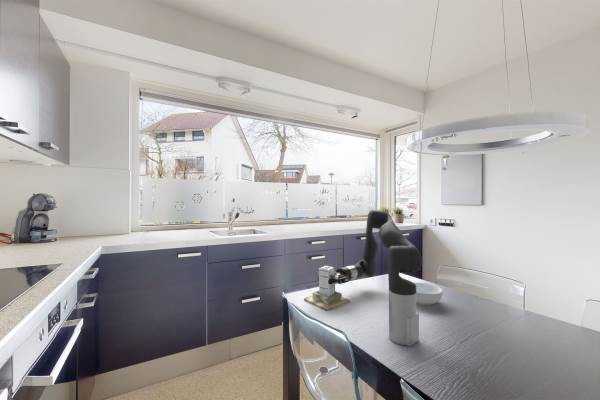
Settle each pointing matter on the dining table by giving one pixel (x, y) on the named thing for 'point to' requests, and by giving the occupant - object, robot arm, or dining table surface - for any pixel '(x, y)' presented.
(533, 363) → the dining table surface
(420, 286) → the cereal bowl
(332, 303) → the socket
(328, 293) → the syrup box
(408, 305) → the robot arm
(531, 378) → the dining table surface
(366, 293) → the dining table surface
